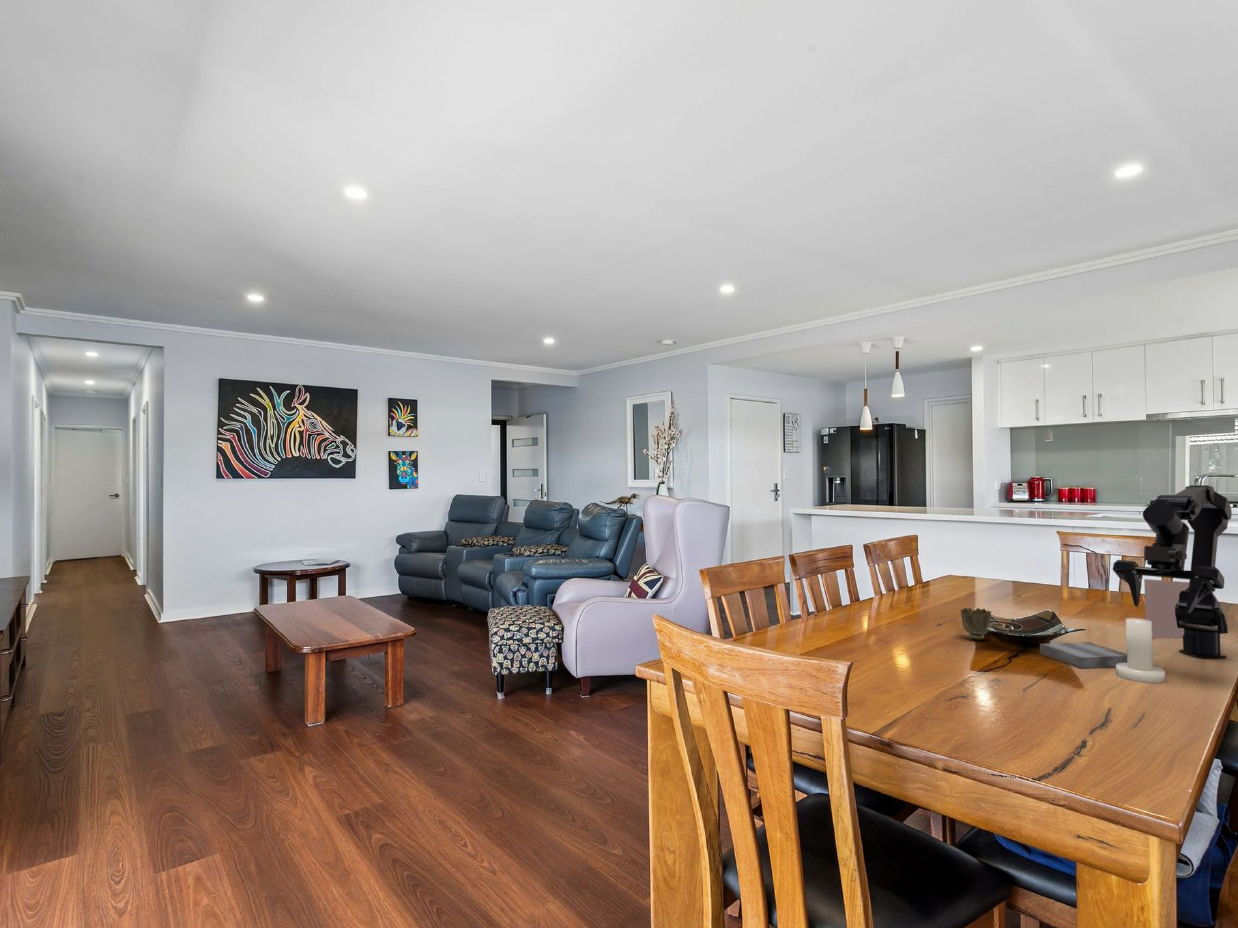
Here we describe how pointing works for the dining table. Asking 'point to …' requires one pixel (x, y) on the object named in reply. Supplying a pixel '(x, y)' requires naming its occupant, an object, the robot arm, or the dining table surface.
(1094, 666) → the grey block
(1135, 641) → the cream cylindrical piece
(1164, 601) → the greeting card
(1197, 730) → the dining table surface
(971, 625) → the cup
